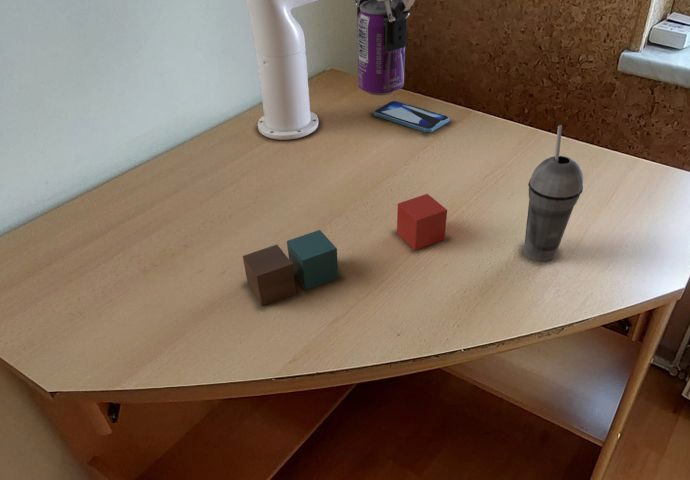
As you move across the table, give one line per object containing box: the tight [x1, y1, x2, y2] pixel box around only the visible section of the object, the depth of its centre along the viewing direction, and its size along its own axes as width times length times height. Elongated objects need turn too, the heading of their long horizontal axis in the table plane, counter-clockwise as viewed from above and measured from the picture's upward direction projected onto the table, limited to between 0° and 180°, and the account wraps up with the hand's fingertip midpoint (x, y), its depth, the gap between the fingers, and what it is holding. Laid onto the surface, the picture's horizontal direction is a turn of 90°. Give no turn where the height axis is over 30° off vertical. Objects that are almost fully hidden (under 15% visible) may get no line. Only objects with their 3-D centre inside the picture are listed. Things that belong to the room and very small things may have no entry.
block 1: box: [242, 244, 297, 307], centre depth 90 cm, size 6×6×6 cm
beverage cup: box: [523, 124, 584, 263], centre depth 87 cm, size 7×7×20 cm
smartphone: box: [373, 100, 450, 133], centre depth 127 cm, size 7×1×15 cm
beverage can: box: [356, 0, 406, 96], centre depth 92 cm, size 7×7×12 cm
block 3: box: [396, 193, 448, 251], centre depth 97 cm, size 6×6×6 cm
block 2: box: [286, 229, 339, 291], centre depth 92 cm, size 6×6×6 cm
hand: (381, 40), depth 92 cm, fingers closed on beverage can, 7 cm apart
